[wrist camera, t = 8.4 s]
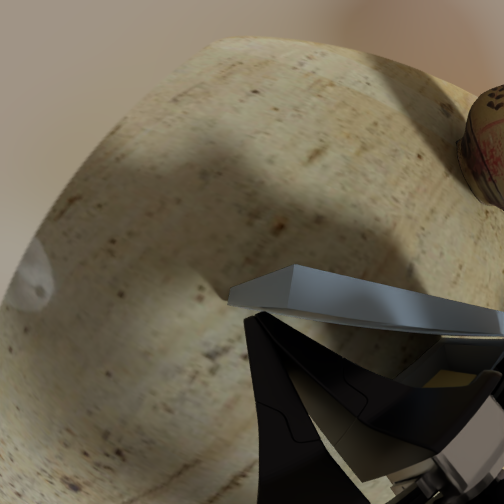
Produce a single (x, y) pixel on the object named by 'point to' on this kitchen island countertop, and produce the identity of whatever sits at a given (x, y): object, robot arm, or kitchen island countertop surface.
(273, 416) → the robot arm
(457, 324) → the side door
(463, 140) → the ceramic jug
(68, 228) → the kitchen island countertop surface
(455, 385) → the camera case
